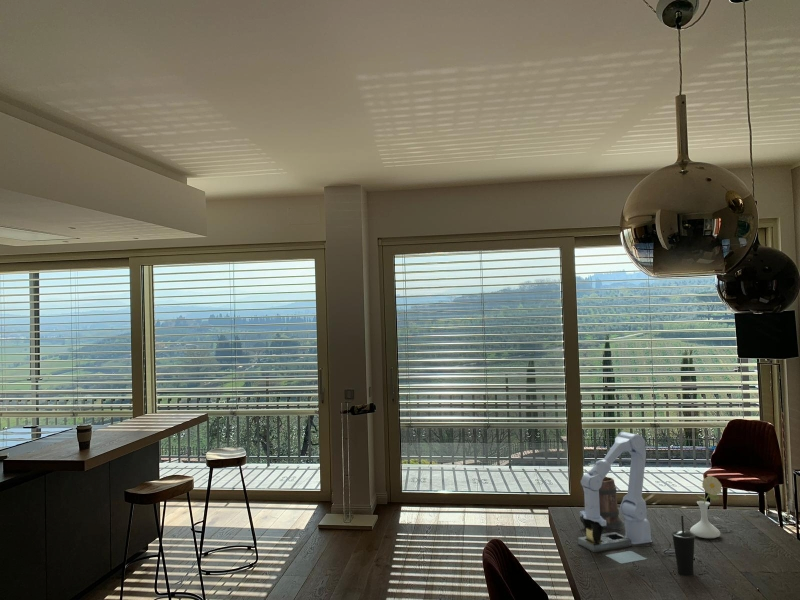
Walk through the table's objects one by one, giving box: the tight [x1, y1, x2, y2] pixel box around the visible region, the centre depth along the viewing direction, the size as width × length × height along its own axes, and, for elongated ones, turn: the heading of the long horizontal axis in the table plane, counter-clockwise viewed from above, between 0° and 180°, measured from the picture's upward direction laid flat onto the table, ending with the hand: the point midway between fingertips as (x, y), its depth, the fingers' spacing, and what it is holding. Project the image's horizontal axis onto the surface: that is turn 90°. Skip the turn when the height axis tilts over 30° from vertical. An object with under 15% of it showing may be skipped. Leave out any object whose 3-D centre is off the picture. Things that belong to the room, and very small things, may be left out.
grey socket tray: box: [577, 531, 632, 553], centre depth 235 cm, size 18×10×3 cm, turn 108°
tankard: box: [579, 476, 625, 530], centre depth 262 cm, size 24×17×20 cm
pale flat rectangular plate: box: [605, 550, 648, 565], centre depth 222 cm, size 12×9×1 cm
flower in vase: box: [689, 475, 723, 539], centre depth 244 cm, size 13×11×25 cm
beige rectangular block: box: [585, 527, 601, 543], centre depth 234 cm, size 4×4×7 cm
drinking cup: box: [671, 515, 696, 577], centre depth 207 cm, size 8×8×20 cm
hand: (593, 539), depth 234 cm, fingers closed on beige rectangular block, 4 cm apart
